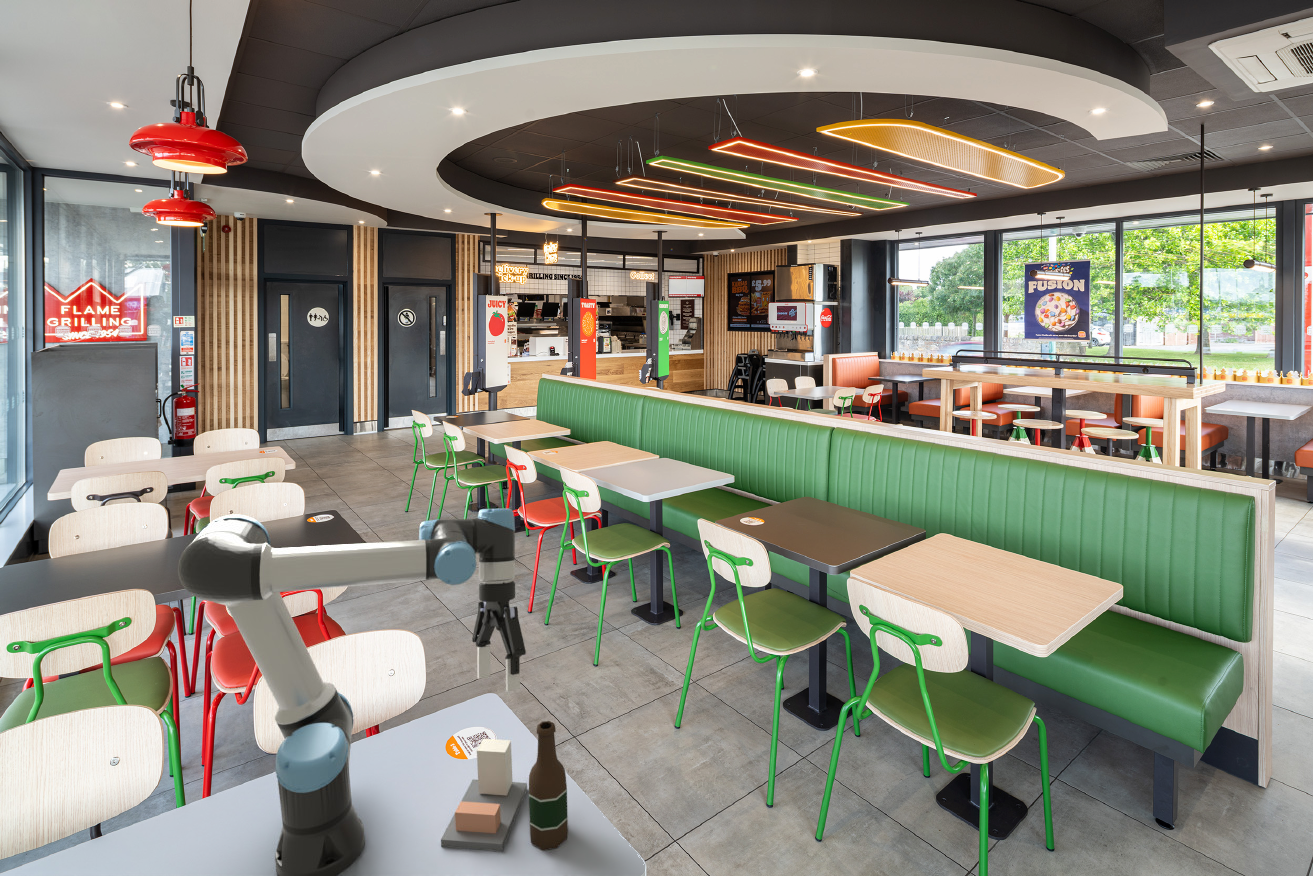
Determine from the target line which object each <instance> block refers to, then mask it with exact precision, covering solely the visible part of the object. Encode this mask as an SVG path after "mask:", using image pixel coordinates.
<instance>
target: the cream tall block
mask: <svg viewBox="0 0 1313 876" xmlns="http://www.w3.org/2000/svg"><path fill="white" fill-rule="evenodd" d="M512 756H513V755H512V740H510V739H506V740H505V739H494V738H493V739H492V738H483V739H482V741H481V742H480V744H479V746H478V748H477V750H476V761H477V762H476V763H477V764H476V765H477V780H478V786H479V794H492V795H507V794H508V792H509V789H510V787H511V785H512V783H513V782H514V781H513V763H512V762H513V761H512V760H513V759H512Z"/></svg>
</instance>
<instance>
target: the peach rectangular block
mask: <svg viewBox="0 0 1313 876" xmlns="http://www.w3.org/2000/svg"><path fill="white" fill-rule="evenodd" d="M454 814H455V822H456V831H470V832H483V833H496V832H497V830H498V827H499V825H500V823H501V815H500V804H491V803H477V802H462V800H461V801H460V802H459V804H458V806H457V807H456V810H455V812H454Z"/></svg>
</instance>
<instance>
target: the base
mask: <svg viewBox="0 0 1313 876" xmlns="http://www.w3.org/2000/svg"><path fill="white" fill-rule="evenodd" d="M527 790H528V782H517V781H516V782H515V781H513V783H512V785H511V787H510V789H509V792H508V794H507V795H492V794H479V786H478V779H472V780H471V782H470V784H469V786H468V788H467V789H466V791H465V794H464V796H463V797H462V799H461V801H462V802H477V803H491V804H500V815H501V823H500V825H499V827H498V830H497V832H496V833H483V832H470V831H456V822H455V813H453V816H452V818H451V820H450V822H449V824H448V825H447V827H446V829H445V831H444V833H443V835H442V837H441V838H440V845H441V846H440V847H445V848H456V849H457V848H458V849H471V850H486V851H497V852H502V851H504V848H505V845H506V842H507V840H508V837H509V835H510V833H511V830H512V827H513V825H514V822H515V821H516V817H517V815H518V812H519V810H520V808H521V806H522V803H523V800H524V799H525V796H526V793H527Z"/></svg>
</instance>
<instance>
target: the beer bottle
mask: <svg viewBox="0 0 1313 876" xmlns="http://www.w3.org/2000/svg"><path fill="white" fill-rule="evenodd" d="M556 732H557V731H556V725H555V723H554V722H553V721H550V720H545V721H541V722H540V723H539V724H537V727H536V734H537V754H536V762H535V763H534V764H533V765H532V767H531V769H530V772H529V775H528V803H529V804H528V807H529V809H528V810H529V813H528V814H529V834H530V835H529V836H530V843H531V845H533V846H535V847H536V848H538V849H540V850H541V851H546V850H547V851H548V850H555V849H558V848H559V847H560V846H561V845H563V843H564V842H565V841H566V840H567V839H568V837H569V836H568V833H569V826H568V824H569V823H568V818H569V817H568V788H567V787H568V786H567V776H566V770H565V766H564V765H563V763H561V761H560V760H559V759H558V756H557V750H556V741H555V740H556V737H555V733H556Z"/></svg>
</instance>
